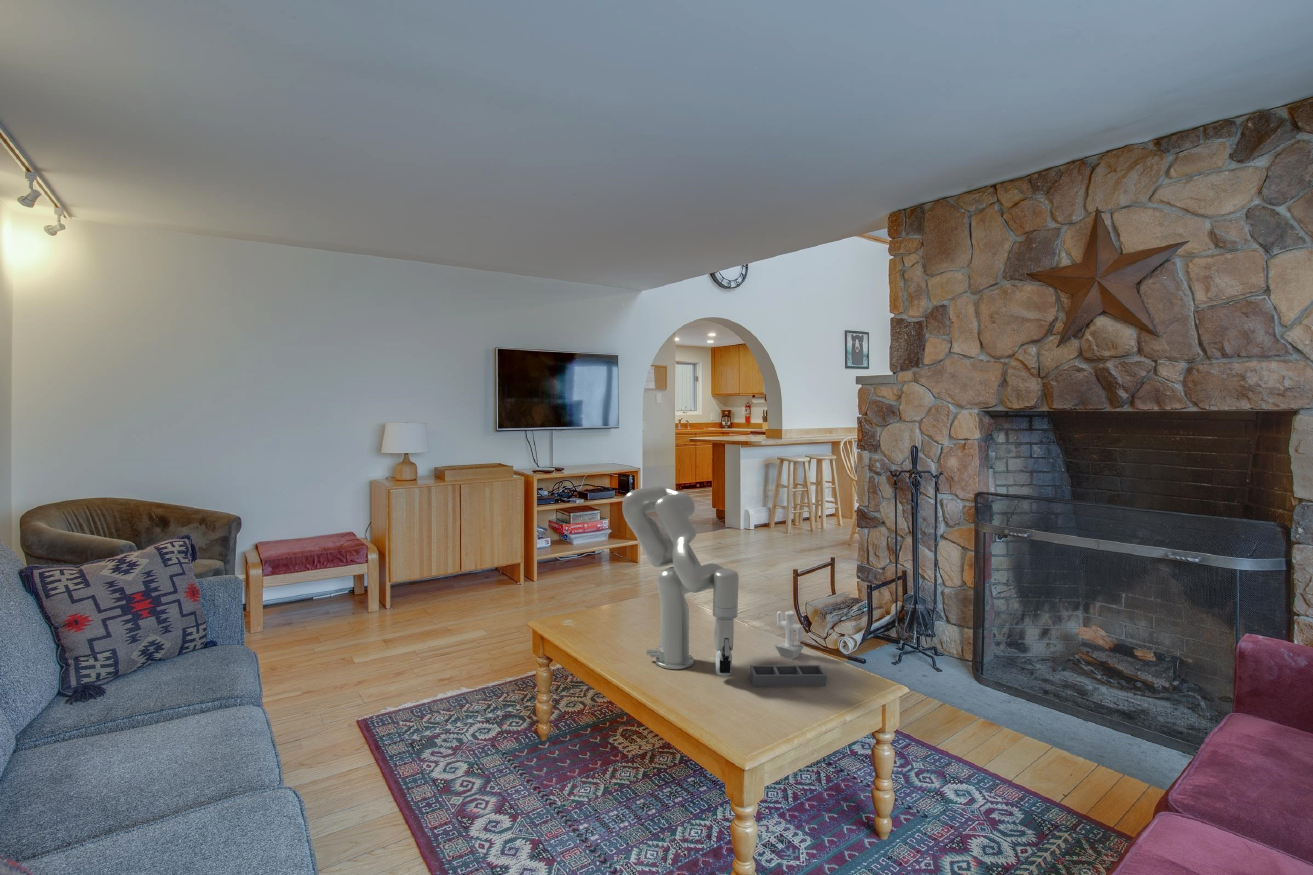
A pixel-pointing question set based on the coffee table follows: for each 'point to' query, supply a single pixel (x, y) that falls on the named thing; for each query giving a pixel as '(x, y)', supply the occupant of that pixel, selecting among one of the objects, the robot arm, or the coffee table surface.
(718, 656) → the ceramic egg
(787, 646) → the figurine
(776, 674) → the grey compartment tray
